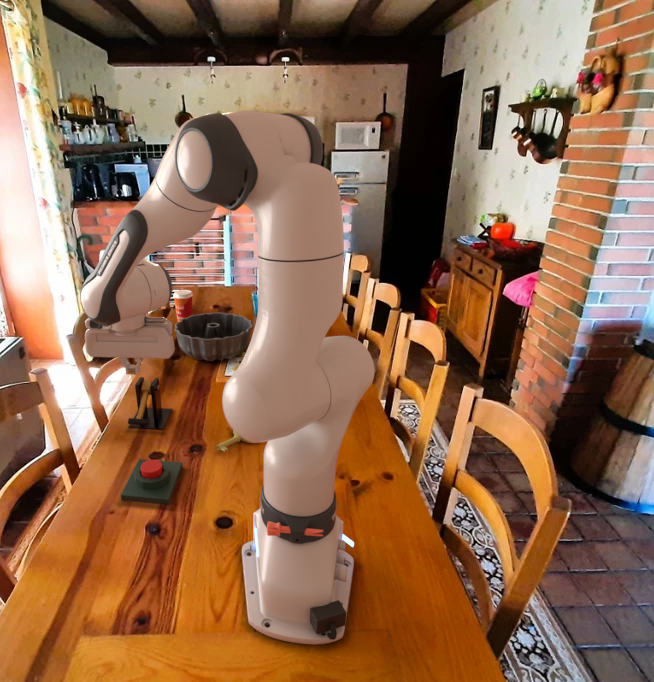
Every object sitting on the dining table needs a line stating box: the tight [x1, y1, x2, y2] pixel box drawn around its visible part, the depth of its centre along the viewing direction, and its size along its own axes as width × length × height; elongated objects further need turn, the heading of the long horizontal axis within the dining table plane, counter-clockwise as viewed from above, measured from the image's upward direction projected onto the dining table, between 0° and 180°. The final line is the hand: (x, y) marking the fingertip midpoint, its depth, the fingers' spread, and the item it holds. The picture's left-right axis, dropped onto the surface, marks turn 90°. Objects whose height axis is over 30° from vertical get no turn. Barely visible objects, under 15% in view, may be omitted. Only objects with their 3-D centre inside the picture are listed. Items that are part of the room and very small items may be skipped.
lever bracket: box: [128, 376, 173, 431], centre depth 125 cm, size 10×9×12 cm
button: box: [141, 459, 163, 479], centre depth 101 cm, size 4×4×2 cm
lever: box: [127, 379, 153, 425], centre depth 120 cm, size 12×5×2 cm, turn 168°
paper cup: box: [172, 289, 194, 323], centre depth 188 cm, size 8×8×14 cm
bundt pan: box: [173, 312, 254, 362], centre depth 165 cm, size 26×26×10 cm
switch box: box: [120, 458, 184, 506], centre depth 102 cm, size 12×10×4 cm
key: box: [215, 429, 253, 452], centre depth 115 cm, size 7×12×2 cm, turn 150°
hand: (133, 373), depth 112 cm, fingers closed
